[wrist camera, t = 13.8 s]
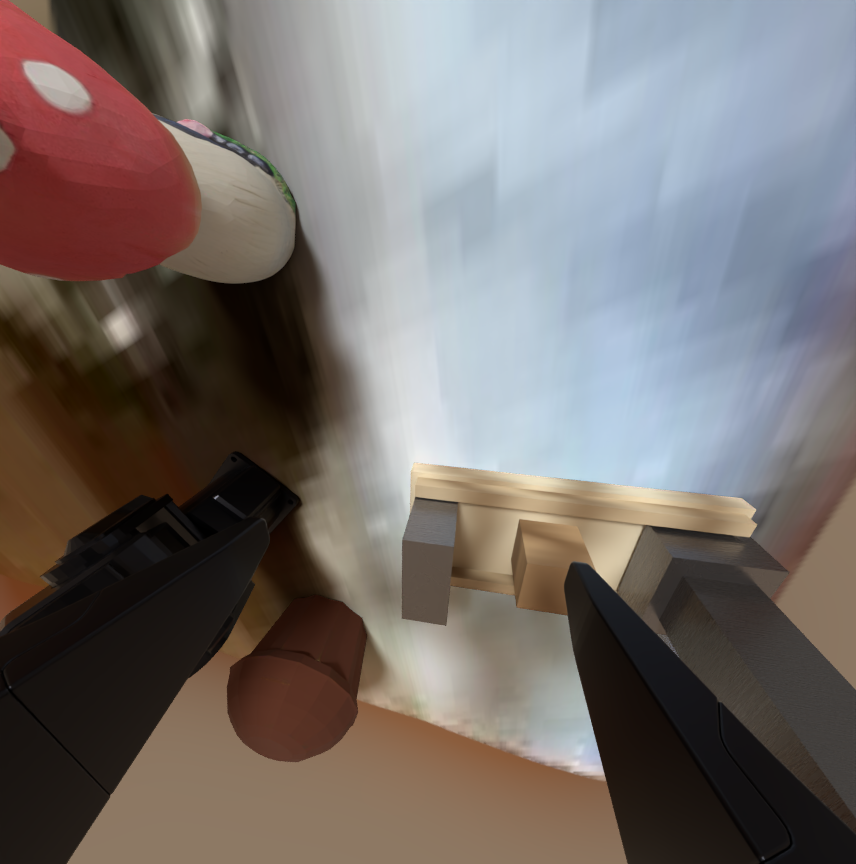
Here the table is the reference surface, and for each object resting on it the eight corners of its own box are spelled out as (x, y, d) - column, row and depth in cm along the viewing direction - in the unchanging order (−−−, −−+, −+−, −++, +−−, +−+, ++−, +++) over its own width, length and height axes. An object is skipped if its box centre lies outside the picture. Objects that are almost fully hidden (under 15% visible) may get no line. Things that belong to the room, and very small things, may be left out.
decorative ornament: (340, 208, 17) (-181, -92, 4) (299, 316, 20) (-79, 377, 6) (181, 99, 16) (-1384, -896, 3) (162, 229, 19) (-633, 82, 5)
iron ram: (617, 590, 23) (756, 891, 12) (647, 522, 21) (867, 826, 9) (704, 603, 23) (943, 935, 11) (747, 534, 20) (1127, 880, 8)
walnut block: (510, 559, 24) (516, 607, 20) (519, 519, 22) (527, 563, 19) (564, 567, 24) (580, 617, 20) (577, 526, 22) (597, 572, 18)
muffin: (398, 622, 31) (365, 758, 22) (354, 670, 36) (313, 797, 27) (291, 567, 30) (212, 687, 21) (261, 624, 35) (185, 741, 26)
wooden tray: (411, 561, 27) (406, 582, 25) (414, 462, 23) (408, 479, 21) (683, 600, 25) (701, 627, 23) (741, 498, 21) (769, 520, 19)
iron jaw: (415, 560, 26) (401, 618, 21) (417, 489, 23) (402, 539, 18) (451, 565, 25) (446, 625, 21) (458, 494, 22) (453, 547, 18)
